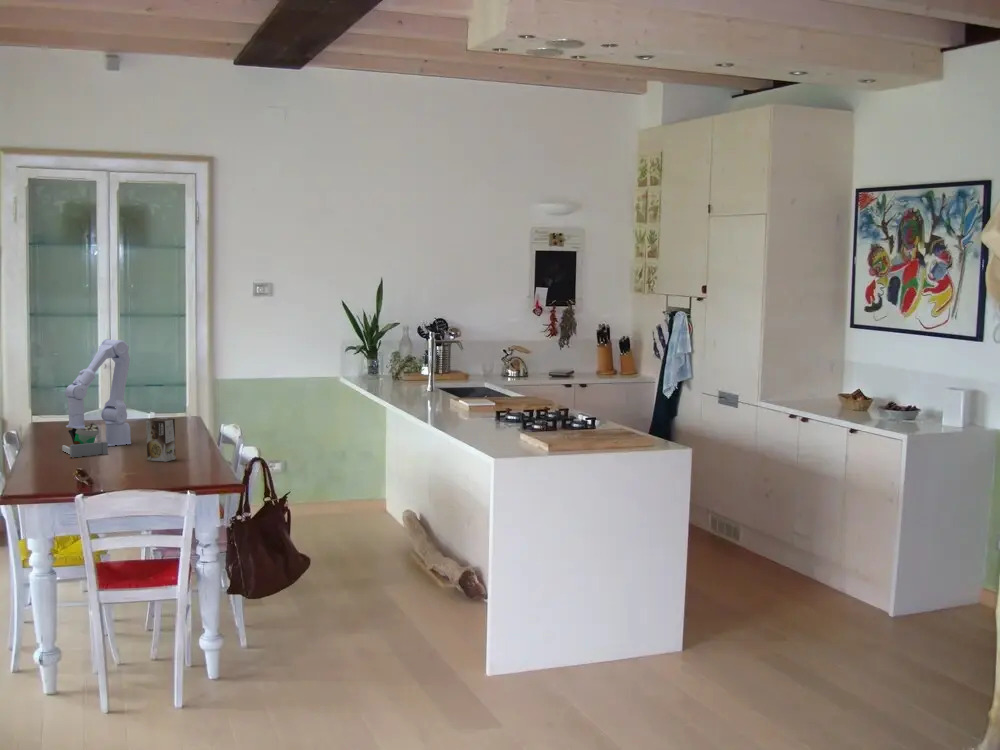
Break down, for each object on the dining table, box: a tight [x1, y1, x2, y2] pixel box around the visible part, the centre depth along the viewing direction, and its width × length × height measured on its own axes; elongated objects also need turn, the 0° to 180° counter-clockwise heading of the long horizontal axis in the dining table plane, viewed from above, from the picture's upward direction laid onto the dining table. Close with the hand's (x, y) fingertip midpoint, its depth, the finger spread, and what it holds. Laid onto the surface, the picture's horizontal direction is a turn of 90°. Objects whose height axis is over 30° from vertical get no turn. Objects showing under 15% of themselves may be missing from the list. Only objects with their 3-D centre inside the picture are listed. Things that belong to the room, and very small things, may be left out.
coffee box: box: [145, 417, 176, 462], centre depth 404 cm, size 9×6×16 cm
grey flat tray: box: [61, 440, 109, 458], centre depth 416 cm, size 14×16×5 cm
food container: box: [72, 421, 100, 445], centre depth 418 cm, size 12×6×10 cm, turn 172°
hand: (77, 447), depth 421 cm, fingers closed
